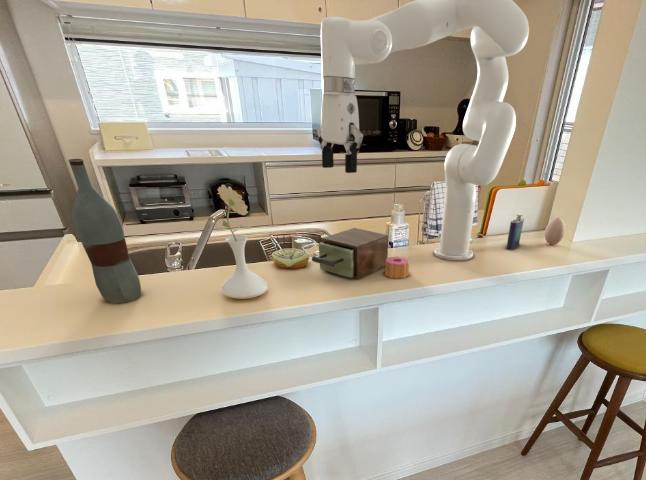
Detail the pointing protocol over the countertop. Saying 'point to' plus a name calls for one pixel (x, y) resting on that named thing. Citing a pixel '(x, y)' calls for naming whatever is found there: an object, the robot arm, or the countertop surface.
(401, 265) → the donut
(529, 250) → the countertop surface
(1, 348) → the countertop surface
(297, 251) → the decorated donut
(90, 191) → the bottle
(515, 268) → the countertop surface
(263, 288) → the flower in vase
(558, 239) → the egg
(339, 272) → the drawer
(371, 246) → the cabinet
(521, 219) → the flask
